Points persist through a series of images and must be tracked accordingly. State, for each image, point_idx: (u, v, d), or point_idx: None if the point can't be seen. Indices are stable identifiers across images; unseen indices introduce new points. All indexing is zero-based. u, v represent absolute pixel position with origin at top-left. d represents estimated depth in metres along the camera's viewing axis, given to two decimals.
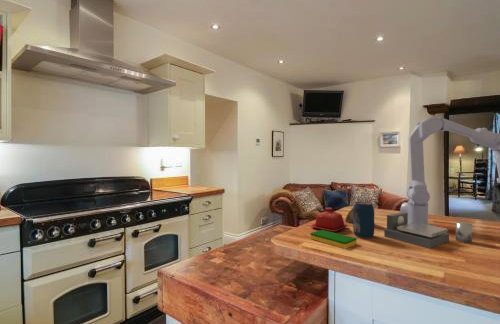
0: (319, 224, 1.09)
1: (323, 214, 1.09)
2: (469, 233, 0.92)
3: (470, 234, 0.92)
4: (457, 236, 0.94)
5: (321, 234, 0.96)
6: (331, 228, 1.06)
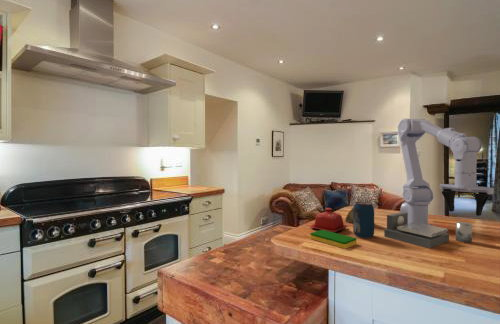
0: (318, 224, 1.08)
1: (322, 214, 1.09)
2: (469, 233, 0.92)
3: (470, 234, 0.92)
4: (457, 236, 0.94)
5: (321, 234, 0.96)
6: (330, 229, 1.05)
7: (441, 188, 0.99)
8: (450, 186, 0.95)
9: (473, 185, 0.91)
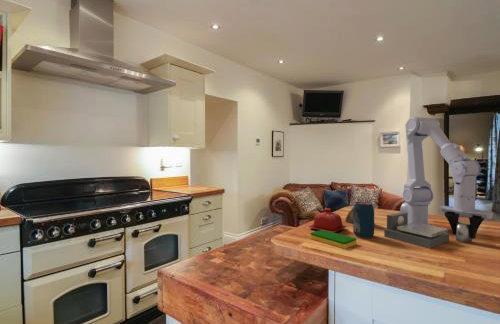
0: (317, 225, 1.08)
1: (321, 215, 1.08)
2: (469, 233, 0.92)
3: None
4: (457, 236, 0.94)
5: (321, 234, 0.96)
6: (329, 229, 1.04)
7: (440, 210, 0.99)
8: (449, 209, 0.96)
9: (472, 209, 0.91)
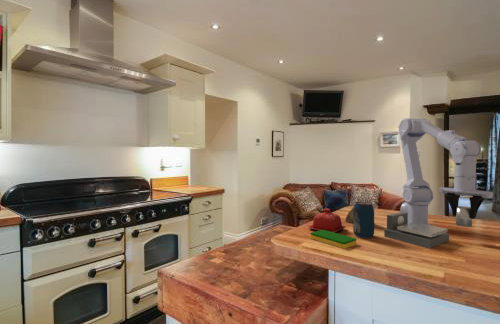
0: (317, 225, 1.07)
1: (321, 215, 1.07)
2: (469, 217, 0.92)
3: (470, 218, 0.92)
4: (457, 220, 0.94)
5: (321, 234, 0.96)
6: (329, 229, 1.04)
7: (441, 191, 0.99)
8: (449, 190, 0.96)
9: (472, 189, 0.91)
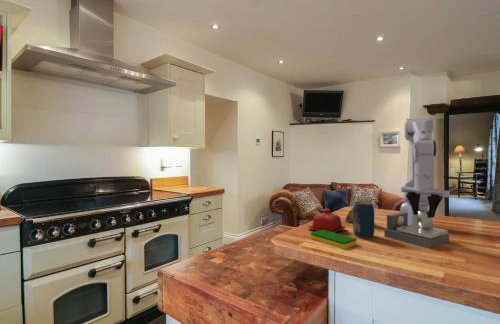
0: (316, 225, 1.07)
1: (320, 215, 1.07)
2: (428, 221, 0.93)
3: (429, 221, 0.93)
4: (418, 223, 0.95)
5: (321, 234, 0.96)
6: (328, 230, 1.03)
7: (402, 191, 1.00)
8: (410, 189, 0.96)
9: (431, 188, 0.92)
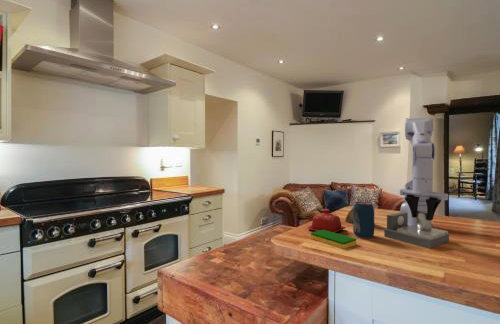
0: (316, 226, 1.06)
1: (319, 216, 1.06)
2: (427, 222, 0.93)
3: (428, 222, 0.93)
4: (417, 224, 0.95)
5: (321, 234, 0.96)
6: (327, 230, 1.03)
7: (401, 193, 1.00)
8: (408, 192, 0.96)
9: (429, 191, 0.92)
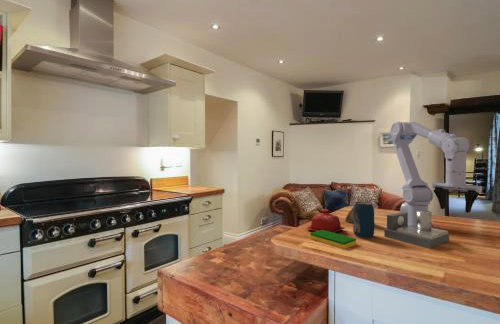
0: (315, 226, 1.06)
1: (319, 216, 1.06)
2: (427, 221, 0.93)
3: (429, 222, 0.93)
4: (417, 224, 0.95)
5: (321, 234, 0.96)
6: (326, 230, 1.02)
7: (433, 186, 1.03)
8: (441, 184, 1.00)
9: (463, 183, 0.95)
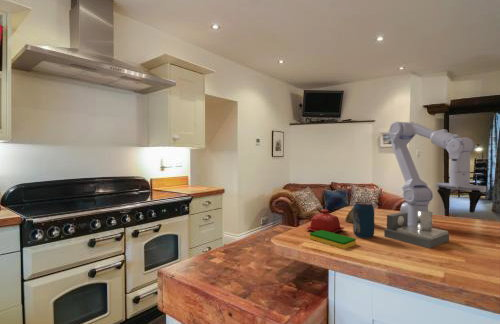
0: (314, 226, 1.05)
1: (318, 216, 1.06)
2: (428, 221, 0.93)
3: (429, 222, 0.93)
4: (417, 224, 0.95)
5: (320, 234, 0.95)
6: None
7: (437, 186, 1.03)
8: (445, 184, 1.00)
9: (467, 183, 0.95)
